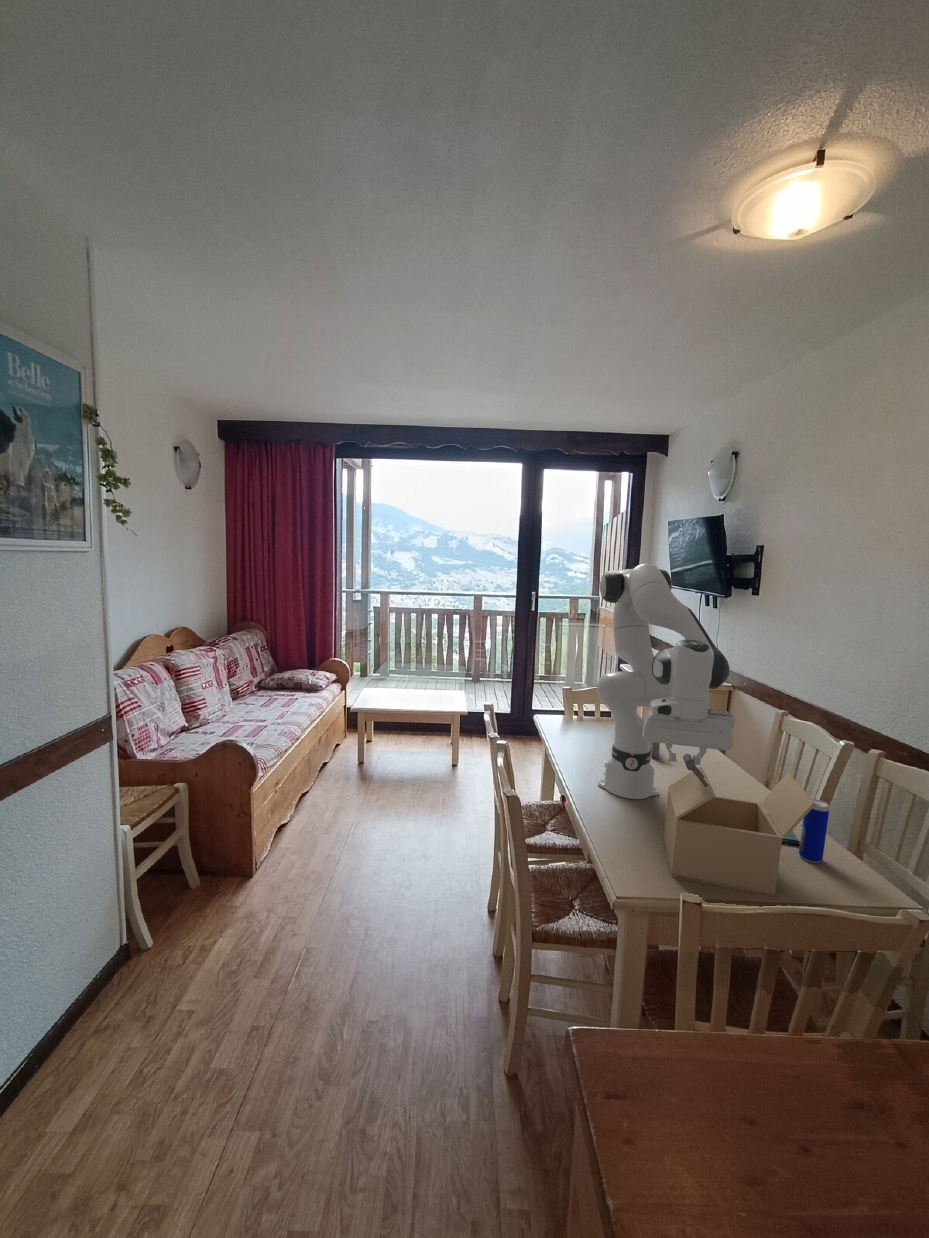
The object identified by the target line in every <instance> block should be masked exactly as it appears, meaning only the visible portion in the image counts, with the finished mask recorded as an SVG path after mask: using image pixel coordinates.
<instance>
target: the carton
mask: <svg viewBox="0 0 929 1238" xmlns="http://www.w3.org/2000/svg"><path fill="white" fill-rule="evenodd" d="M715 796H716V795H715ZM665 811H666V812H665V819H664V827H663V828H664V831H663V843H664V848H665V853H666V858H667V862H668V866H669V868H668V869H669V873H670V877H671V878H675V879H679V880H685V881H691V882H696V883H701V884H707V885H711V886H716V887H718V886H719V887H723V888H727V889H728V888H729V889H733V890H739V891H744V892H749V893H756V894H759V895H760V894H761V895H766V896H771V897H775V896H776V891H777V890H776V889H777V883H778V875H779V866H780V858H781V851H782V850H781V849H782V844H783V843H782V837H781V835H780V833H779V832H778V830H777V829H776V827H775V826H774V824H773V823H772V821H771V819H770V818H769V816H768V815H767V814H768V812H767V811H766V809H765V808H764V806H763V805H762V803H761V802H758V801H757V802H756V801H752V800H751V801H750V800H746V799H745V800H743V799H737V798H730V797H724V796H716V797H714V798H712V799H711V800H709V801H707V802H706V803H704V804H702V805H701V806H699V807H697V808H696V809H694V810H692V811H691V812H689V813H687V814H686V815H684V816H682V817H680V818H679V819H677V818H676V815H675V811H674V808H673V804H672V801H671V797H670V794H669V790H668V789H667V800H666V810H665Z"/></svg>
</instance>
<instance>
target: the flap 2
mask: <svg viewBox="0 0 929 1238" xmlns="http://www.w3.org/2000/svg"><path fill="white" fill-rule="evenodd" d="M812 799H813V798H812V797H811V796H810V795H809V794H808V793H807V792H806V790H805V789H804V788H803V786H801V785H800V783H799V782H798V781H797V780H796V779H795V778H794V777H793V776H792V774H791V773H790V772H787V773H786V774H785V775H784V776H783V777H782V778H781V779H780V780H779V782H778V783H777V784H776V785H775V786H774V787H773V789H772V790H771V791H770V792H769V793H768V794H767V796H766V797H765V798H764V799H763V800H762V801H761V802H760V804H761V805H762V807H763V809H764V810H765V812H766V813H767V814H769V815H770V817H771V818H772V820H773V822H774V823H775V825H776V826H777V828H778V829H779V831H780V832H781V834H782V835H783V837H785V838H786V837H787V836H788V835H789V833H790V832H791V831H793V830H794V829H795V828H796V827H797V826H798V825H799V823H801V821H803V818H804V817H805V816H806V815H807V814H808V813H809V811H810V810H811V809H812V808H813V807H814V806H815V805H816V803H815V802H814V801H813V800H812Z"/></svg>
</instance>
